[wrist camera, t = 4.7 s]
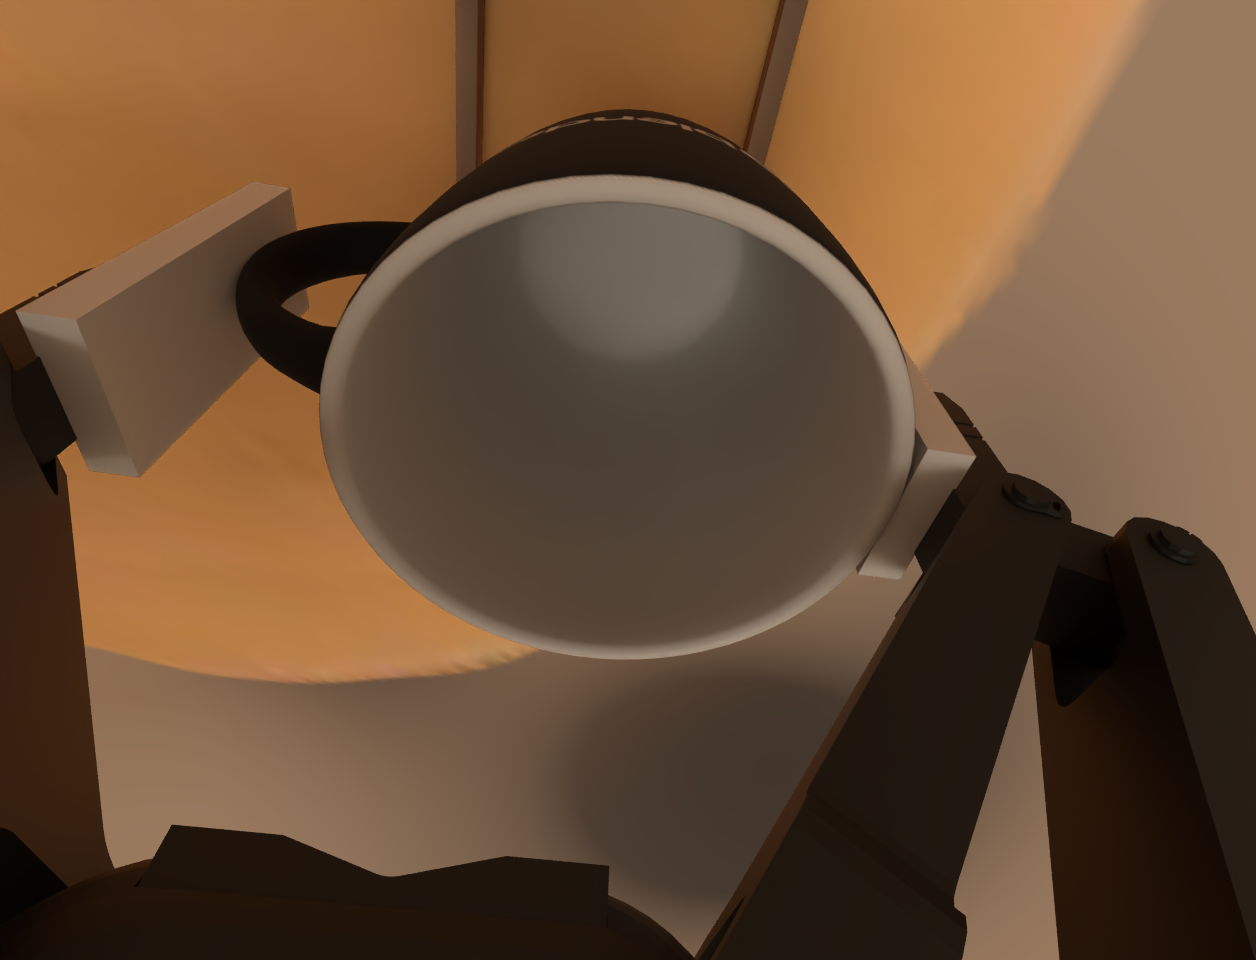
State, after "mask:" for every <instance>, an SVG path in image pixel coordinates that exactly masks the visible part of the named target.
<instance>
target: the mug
mask: <svg viewBox="0 0 1256 960" xmlns="http://www.w3.org/2000/svg"><path fill="white" fill-rule="evenodd" d="M359 274H367V275H366V276H365V278H364V279H363V281H362V282H361V284H360V285H359V287H358V288H357V290H356V291H355V293H354V294H353V296H352V297H351V299H350V300H349V302H348V304H347V306H346V309H345V311H344V313H343V315H342V317H341V319H340V321H339V323H338V325H337V327H328V326H321V325H318V324H315V323H312V322H309V321H306V320H304V319H302V318H300V317H298V316H296V315H294V314H293V313H291V312H289V311H288V310H286V309H284V308H283V307H282V306H281V305H282V304H283V303H284V302H285V301H286V300H287V299H289V298H290V297H292V296H293V295H295V294H296V293H298V292H300V291H302V290H304V289H306V288H308V287H310V286H313V285H316V284H318V283H321V282H324V281H328V280H332V279H336V278H341V277H346V276H351V275H359ZM235 297H236V310H237V314H238V318H239V321H240V324H241V327H242V330H243V332H244V334H245V335H246V337H247V339H248V340H249V342H250V344H251V345H252V346H253V348H254V349H255V350H256V352H257V353H258V354H259V355H260V356H261V357H262V358H263V359H264V360H265V361H266V362H267V363H269V364H270V365H272V366H273V367H274V368H276V369H277V370H278V371H280V372H282V373H283V374H285V375H286V376H288V377H290V378H291V379H293V380H295V381H296V382H298V383H300V384H302V385H303V386H305V387H307V388H309V389H311V390H313V391H314V392H316V393H318V394H320V401H319V418H320V433H321V439H322V444H323V450H324V455H325V459H326V462H327V465H328V469H329V472H330V475H331V479H332V481H333V483H334V486H335V488H336V490H337V493H338V495H339V497H340V500H341V501H342V503H343V505H344V507H345V509H346V510H347V512H348V514H349V516H350V518H351V519H352V521H353V522H354V524H355V525H356V527H357V528H358V530H359V531H360V532H361V534H362V535H363V537H364V538H365V540H366V541H367V542H368V543H369V545H370V546H371V547H372V548H373V549H374V551H375V552H376V553H377V554H378V555H379V557H380V558H381V559H382V560H383V561H384V562H385V563H386V564H387V565H388V566H389V567H390V568H391V569H392V570H393V571H394V572H395V573H396V574H397V575H398V576H399V577H401V578H402V579H403V580H404V581H405V582H406V583H408V584H409V585H410V586H411V587H412V588H413V589H415V590H416V591H417V592H419V593H420V594H422V595H423V596H424V597H426V598H427V599H428V600H430V601H431V602H433V603H434V604H436V605H437V606H439V607H441V608H442V609H444V610H445V611H447V612H449V613H450V614H452V615H454V616H456V617H458V618H460V619H462V620H463V621H465V622H467V623H469V624H471V625H473V626H476V627H478V628H480V629H482V630H485V631H487V632H489V633H491V634H494V635H497V636H500V637H502V638H505V639H508V640H510V641H514V642H517V643H520V644H523V645H527V646H530V647H534V648H538V649H542V650H547V651H551V652H556V653H562V654H567V655H573V656H582V657H590V658H604V659H649V658H663V657H671V656H679V655H685V654H690V653H695V652H700V651H706V650H710V649H714V648H717V647H721V646H725V645H728V644H731V643H734V642H737V641H740V640H743V639H746V638H749V637H751V636H754V635H756V634H759V633H761V632H764V631H766V630H768V629H770V628H772V627H774V626H776V625H778V624H780V623H782V622H784V621H786V620H788V619H790V618H792V617H793V616H795V615H797V614H798V613H800V612H802V611H803V610H805V609H807V608H808V607H809V606H811V605H812V604H814V603H815V602H817V601H818V600H819V599H821V598H822V597H823V596H825V595H826V594H827V593H828V592H830V591H831V590H832V589H833V588H835V587H836V586H837V585H838V584H839V583H840V582H841V581H842V580H843V579H845V577H846V576H847V575H849V573H851V572H852V571H853V570H854V569H855V568H856V567H857V566H858V564H859V563H860V562H861V561H862V560H863V559H864V557H865V556H866V555H867V554H868V553H869V551H870V550H871V549H872V548H873V546H874V545H875V543H876V542H877V541H878V539H879V538H880V536H881V535H882V533H883V532H884V530H885V529H886V527H887V525H888V523H889V521H890V520H891V518H892V516H893V514H894V512H895V510H896V508H897V506H898V503H899V501H900V499H901V496H902V494H903V491H904V489H905V486H906V482H907V478H908V475H909V471H910V468H911V463H912V457H913V450H914V444H915V420H916V416H915V406H914V396H913V389H912V385H911V380H910V376H909V372H908V367H907V363H906V359H905V356H904V353H903V351H902V348H901V345H900V343H899V340H898V337H897V335H896V332H895V330H894V328H893V326H892V324H891V322H890V321H889V319H888V317H887V315H886V313H885V311H884V309H883V307H882V305H881V303H880V301H879V300H878V298H877V296H876V294H875V293H874V291H873V289H872V288H871V286H870V285H869V283H868V282H867V280H866V279H865V277H864V276H863V274H862V273H861V271H860V270H859V269H858V267H857V266H856V264H855V263H854V261H853V260H852V259H851V257H850V256H849V254H848V253H847V252H846V250H845V249H844V248H843V247H842V245H841V244H840V243H839V242H838V240H837V239H836V238H835V237H834V236H833V234H832V233H831V232H830V231H829V230H828V229H827V228H826V227H825V225H824V224H823V223H822V222H821V221H820V220H819V219H818V217H817V216H816V215H815V214H814V213H813V212H812V211H811V210H810V208H809V207H808V206H807V205H806V204H805V203H804V202H803V201H802V200H801V199H800V198H799V197H798V196H797V195H796V194H795V193H794V192H793V191H792V190H791V189H790V188H789V187H788V186H787V185H786V184H784V183H783V182H782V181H781V180H780V179H779V178H778V177H777V176H776V175H774V174H773V173H772V172H771V171H770V170H769V169H768V168H767V167H765V166H764V165H763V164H762V163H761V162H759V161H758V160H757V159H755V158H754V157H753V156H751V155H750V154H749V153H747V152H746V151H744V150H743V149H741V148H740V147H739V146H737V145H736V144H734V143H733V142H731V141H730V140H728V139H726V138H724V137H723V136H721V135H719V134H717V133H715V132H714V131H712V130H710V129H708V128H706V127H703V126H701V125H698V124H696V123H694V122H691V121H689V120H686V119H683V118H679V117H676V116H672V115H669V114H665V113H659V112H653V111H647V110H631V109H624V110H607V111H600V112H594V113H588V114H584V115H580V116H577V117H573V118H570V119H566V120H563V121H560V122H558V123H555V124H553V125H550V126H548V127H546V128H543V129H541V130H538V131H536V132H534V133H532V134H531V135H529V136H527V137H525V138H523V139H522V140H520V141H518V142H516V143H514V144H512V145H511V146H509V147H507V148H505V149H504V150H502V151H501V152H499V153H498V154H496V155H495V156H493V157H492V158H490V159H489V160H487V161H486V162H485V163H483V164H482V165H480V166H479V167H477V168H476V169H475V170H473V171H472V172H470V173H469V174H468V175H466V176H465V177H464V178H462V179H461V180H460V181H458V182H457V183H456V184H455V185H453V186H452V187H451V188H450V189H449V190H448V191H446V192H445V193H444V194H443V195H442V196H441V197H440V198H438V199H437V200H436V201H435V202H434V203H433V204H432V205H431V206H430V207H428V208H427V209H426V210H425V211H424V212H423V213H422V214H421V215H420V216H419V217H417V218H416V219H415V220H414V221H413V222H412V223H409V222H386V221H371V222H348V223H338V224H329V225H323V226H317V227H312V228H307V229H303V230H300V231H296V232H292V233H290V234H287V235H284V236H282V237H279V238H277V239H275V240H273V241H271V242H269V243H267V244H266V245H264V246H263V247H262V248H260V249H259V250H258V251H256V252H255V253H254V254H253V256H252V257H251V258H250V259H249V260H248V261H247V262H246V264H245V265H244V266H243V268H242V270H241V273H240V275H239V278H238V282H237V285H236V296H235Z"/></svg>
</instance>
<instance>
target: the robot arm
mask: <svg viewBox="0 0 1256 960" xmlns="http://www.w3.org/2000/svg"><path fill="white" fill-rule="evenodd" d="M296 231H297V228H296V221H295V215H294V209H293V202H292V196H291V190H290V188H287V187H281V186H275V185H270V184H264V183H258V182H252V183H250V184H249V185H247V186H245V187H243V188H241V189H239V190H237V191H236V192H234V193H232V194H230V195H228V196H226V197H225V198H223V199H221V200H219V201H217V202H215V203H213V204H212V205H210V206H208V207H206V208H204V209H202V210H201V211H199V212H197V213H195V214H193V215H191V216H189V217H188V218H186V219H184V220H182V221H180V222H178V223H177V224H175V225H173V226H171V227H169V228H167V229H165V230H164V231H162V232H160V233H158V234H156V235H154V236H153V237H151V238H149V239H147V240H145V241H143V242H141V243H140V244H138V245H136V246H134V247H132V248H130V249H129V250H127V251H125V252H123V253H121V254H119V255H117V256H116V257H114V258H112V259H110V260H108V261H106V262H105V263H103V264H101V265H99V266H97V267H95V268H91V269H88V270H84V271H80V272H78V273H76V274H75V275H73V276H71V277H69V278H67V279H65V280H63V281H61V282H60V283H58V284H57V287H54V286H52V287H50V288H48V289H46V290H45V291H43V292H41V293H39V296H38V297H34V296H33V297H31V298H30V299H28V300H26V301H24V302H22V303H20V304H18V305H17V306H15V307H13V308H11V309H9V310H7V311H5V312H3V313H2V314H0V960H962V957H963V952H964V946H965V942H966V936H967V924H966V916H965V915H964V914H962V913H961V912H960V911H958V910H957V909H956V908H955V907H954V895H955V890H956V886H957V883H958V879H959V876H960V873H961V870H962V867H963V863H964V860H965V857H966V854H967V851H968V848H969V844H970V841H971V838H972V835H973V832H974V828H975V825H976V822H977V819H978V816H979V813H980V809H981V806H982V803H983V800H984V797H985V794H986V791H987V787H988V784H989V781H990V778H991V774H992V771H993V768H994V765H995V762H996V759H997V756H998V752H999V749H1000V746H1001V743H1002V739H1003V736H1004V733H1005V730H1006V727H1007V724H1008V720H1009V717H1010V714H1011V711H1012V708H1013V705H1014V702H1015V698H1016V695H1017V692H1018V689H1019V686H1020V683H1021V679H1022V676H1023V673H1024V670H1025V667H1026V664H1027V660H1028V657H1029V654H1030V651H1031V648H1032V655H1033V665H1034V678H1035V689H1036V700H1037V710H1038V723H1039V733H1040V745H1041V757H1042V767H1043V779H1044V790H1045V802H1046V813H1047V824H1048V835H1049V847H1050V858H1051V869H1052V881H1053V892H1054V903H1055V915H1056V926H1057V937H1058V948H1059V960H1256V635H1255V633H1254V631H1253V628H1252V626H1251V624H1250V622H1249V620H1248V617H1247V615H1246V614H1245V611H1244V609H1243V607H1242V605H1241V603H1240V600H1239V598H1238V596H1237V594H1236V592H1235V589H1234V587H1233V585H1232V583H1231V581H1230V579H1229V577H1228V574H1227V572H1226V570H1225V568H1224V566H1223V564H1222V563H1221V561H1220V560H1219V559H1218V557H1217V556H1216V554H1215V553H1214V552H1213V551H1211V550H1210V549H1209V548H1208V547H1207V546H1206V545H1204V544H1203V543H1202V541H1201V540H1200V539H1199V538H1198V537H1196V536H1195V535H1193V534H1191V535H1189V532H1188V531H1186V530H1184V529H1183V528H1180V527H1175V526H1172V525H1170V524H1168V523H1165V522H1162V521H1159V520H1155V519H1151V518H1139V517H1134V518H1132V519H1131V520H1129V521H1127V522H1126V523H1125V524H1124V525H1123V527H1122V528H1121V529H1120V530H1119V531H1118V532H1117V533H1116V535H1115V536H1114V537H1111V536H1109V535H1106V534H1103V533H1100V532H1097V531H1094V530H1091V529H1088V528H1085V527H1082V526H1079V525H1076V524H1073V523H1071V521H1072V519H1071V511H1070V509H1069V508H1068V507H1067V505H1066V504H1065V502H1064V501H1063V500H1062V499H1061V498H1059V497H1058V496H1057V495H1056V494H1055V493H1053V492H1052V491H1051V490H1050V489H1048V488H1046V487H1045V486H1043V485H1041V484H1039V483H1038V482H1036V481H1034V480H1031V479H1028V478H1026V477H1023V476H1021V475H1017V474H1012V473H1008V472H1007V471H1006V470H1005V468H1004V467H1003V465H1002V464H1001V462H1000V461H999V460H998V459H997V457H996V455H995V454H994V453H993V451H992V450H991V448H990V447H989V445H988V444H987V443H986V441H984V440H982V438H983V437H982V436H981V434H980V433H979V431H978V430H977V428H976V427H973V423H972V421H971V420H970V419H969V417H968V416H967V414H966V413H965V412H964V410H963V409H962V408H961V407H960V406H958V405H957V404H956V403H955V402H953V401H952V400H951V399H950V398H948V397H947V396H945V395H944V394H943V393H938V392H933V391H932V389H931V388H930V386H929V385H928V383H927V382H926V380H925V379H924V377H923V376H922V374H921V373H920V371H919V370H918V368H917V367H916V365H915V364H914V362H913V361H912V359H911V358H910V356H909V355H908V353H907V352H906V350H905V349H904V347H903V346H902V344H901V343H900V341H899V343H900V345H901V348H902V351H903V353H904V356H905V359H906V363H907V367H908V372H909V376H910V380H911V385H912V389H913V396H914V406H915V416H916V420H915V444H914V450H913V457H912V463H911V468H910V471H909V475H908V478H907V482H906V486H905V489H904V491H903V494H902V496H901V499H900V501H899V503H898V506H897V508H896V510H895V512H894V514H893V516H892V518H891V520H890V521H889V523H888V525H887V527H886V529H885V530H884V532H883V533H882V535H881V536H880V538H879V539H878V541H877V542H876V543H875V545H874V546H873V548H872V549H871V550H870V551H869V553H868V554H867V555H866V556H865V557H864V559H863V560H862V561H861V562H860V563H859V564H858V566H857V567H856V570H857V572H858V574H860V575H868V576H876V577H883V578H891V579H898V580H899V579H900V578H901V577H902V575H903V573H904V572H905V570H906V569H907V567H908V565H909V564H910V562H911V561H912V559H913V557H914V555H915V556H916V558H917V560H918V563H919V565H920V567H921V569H922V572H923V574H922V575H921V577H920V578H919V580H918V581H917V583H916V584H915V586H914V587H913V589H912V590H911V592H910V594H909V595H908V597H907V598H906V600H905V601H904V603H903V604H902V606H901V607H900V609H899V611H898V612H897V613H896V615H895V617H896V618H895V620H894V621H893V623H892V625H891V627H890V628H889V630H888V632H887V633H886V635H885V637H884V638H883V640H882V642H881V644H880V645H879V647H878V649H877V650H876V652H875V654H874V655H873V657H872V659H871V661H870V662H869V664H868V666H867V667H866V669H865V671H864V673H863V674H862V676H861V678H860V679H859V681H858V683H857V685H856V686H855V688H854V690H853V691H852V693H851V695H850V696H849V698H848V700H847V701H846V703H845V705H844V707H843V708H842V710H841V712H840V713H839V715H838V717H837V718H836V720H835V722H834V724H833V725H832V727H831V729H830V730H829V732H828V734H827V736H826V737H825V739H824V741H823V742H822V744H821V746H820V747H819V749H818V751H817V753H816V754H815V756H814V758H813V760H812V761H811V763H810V764H809V766H808V768H807V770H806V771H805V773H804V775H803V777H802V778H801V780H800V782H799V783H798V785H797V787H796V788H795V790H794V792H793V794H792V795H791V797H790V799H789V800H788V802H787V804H786V806H785V807H784V809H783V810H782V812H781V814H780V816H779V817H778V819H777V821H776V823H775V824H774V826H773V828H772V830H771V831H770V833H769V834H768V836H767V838H766V840H765V841H764V843H763V845H762V846H761V848H760V850H759V851H758V853H757V855H756V857H755V858H754V860H753V862H752V864H751V865H750V867H749V869H748V870H747V872H746V874H745V875H744V877H743V879H742V880H741V882H740V884H739V886H738V887H737V889H736V891H735V892H734V894H733V896H732V897H731V899H730V901H729V902H728V904H727V906H726V907H725V909H724V911H723V912H722V914H721V915H720V917H719V918H718V920H717V921H716V923H715V925H714V926H713V928H712V929H711V931H710V933H709V934H708V936H707V937H706V939H705V941H704V942H703V944H702V946H701V947H700V949H699V951H698V952H697V954H696V956H695V957H693V956H692V955H691V954H690V953H689V952H688V951H687V950H686V949H685V948H684V947H683V946H682V945H681V944H680V943H679V942H678V941H677V940H676V939H675V938H674V937H673V936H672V935H671V934H670V933H669V932H668V931H667V930H665V929H664V928H663V927H661V926H660V925H659V924H658V923H656V922H655V921H654V920H652V919H651V918H650V917H649V916H647V915H645V914H644V913H642V912H640V911H639V910H637V909H635V908H634V907H632V906H630V905H629V904H627V903H625V902H623V901H621V900H618V899H616V898H614V897H611V896H609V895H608V882H609V866H605V865H595V864H585V863H574V862H563V861H553V860H542V859H532V858H521V857H510V856H505V857H499V858H494V859H488V860H483V861H477V862H472V863H467V864H462V865H456V866H451V867H445V868H440V869H434V870H429V871H424V872H418V873H413V874H408V875H402V876H395V877H387V876H381V875H378V874H375V873H373V872H371V871H368V870H366V869H363V868H361V867H359V866H356V865H353V864H351V863H349V862H347V861H344V860H342V859H339V858H337V857H335V856H332V855H330V854H327V853H325V852H323V851H320V850H318V849H315V848H313V847H310V846H308V845H306V844H303V843H301V842H299V841H296V840H294V839H291V838H289V837H286V836H284V835H276V834H266V833H255V832H245V831H234V830H224V829H213V828H203V827H191V826H181V825H171V827H170V829H169V831H168V833H167V834H166V836H165V838H164V840H163V842H162V843H161V845H160V847H159V849H158V851H157V852H156V854H155V856H154V858H153V859H147V860H143V861H140V862H136V863H133V864H129V865H126V866H122V867H119V868H115V869H114V866H113V864H112V861H111V859H110V856H109V853H108V850H107V846H106V842H105V836H104V830H103V821H102V811H101V802H100V792H99V782H98V774H97V763H96V754H95V744H94V735H93V725H92V715H91V706H90V696H89V687H88V677H87V667H86V658H85V648H84V638H83V629H82V619H81V610H80V600H79V590H78V581H77V571H76V562H75V552H74V542H73V533H72V523H71V514H70V504H69V494H68V485H67V475H66V473H65V471H64V469H63V467H62V465H61V463H60V461H59V459H58V457H57V455H58V454H60V453H61V452H62V451H63V450H64V449H66V448H67V447H68V446H69V445H70V444H72V443H73V442H74V441H76V443H77V445H78V447H79V449H80V452H81V454H82V456H83V458H84V460H85V462H86V465H87V467H88V469H89V471H94V472H102V473H109V474H117V475H124V476H132V477H140V476H141V475H142V474H143V473H144V472H145V471H146V470H147V469H148V468H149V467H150V466H151V465H152V464H153V463H154V462H155V461H156V460H157V459H158V458H159V457H160V456H161V455H162V454H163V453H164V452H165V451H166V450H167V449H168V448H169V447H170V446H171V445H172V444H173V443H174V442H175V441H176V440H177V439H178V438H179V437H180V436H181V435H182V434H183V433H184V432H185V431H186V430H187V429H188V428H189V427H190V426H191V425H192V424H193V423H194V422H195V421H196V420H197V419H198V418H199V417H200V416H201V415H202V414H203V413H204V412H205V411H206V410H207V409H208V408H209V407H210V406H211V405H212V404H213V403H214V402H215V401H216V400H217V399H218V398H219V397H220V396H221V395H222V394H223V393H224V392H225V391H226V390H227V389H228V388H229V387H230V386H231V385H232V384H233V383H234V382H235V381H236V380H237V379H238V378H239V377H240V376H241V375H242V374H243V373H244V372H245V371H246V370H247V369H248V368H249V367H250V366H251V365H252V364H253V363H254V362H255V361H256V360H257V359H258V358H259V357H260V355H259V354H258V353H257V352H256V350H255V349H254V348H253V346H252V345H251V344H250V342H249V340H248V339H247V337H246V335H245V334H244V332H243V330H242V327H241V324H240V321H239V318H238V314H237V310H236V297H235V296H236V285H237V282H238V278H239V275H240V273H241V270H242V268H243V266H244V265H245V264H246V262H247V261H248V260H249V259H250V258H251V257H252V256H253V254H254V253H255V252H256V251H258V250H259V249H260V248H262V247H263V246H264V245H266V244H267V243H269V242H271V241H273V240H275V239H277V238H279V237H282V236H284V235H287V234H290V233H292V232H296ZM281 306H282V307H283V308H284V309H286V310H288V311H289V312H291V313H293V314H294V315H296V316H298V317H300V316H301V315H302V314H303V313H304V312H305V311H306V310H307V309H308V308H309V303H308V297H307V291H306V289H304V290H302V291H300V292H298V293H296V294H295V295H293V296H292V297H290V298H289V299H287V300H286V301H285V302H284V303H283V304H282V305H281Z"/></svg>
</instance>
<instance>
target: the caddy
mask: <svg viewBox="0 0 1256 960" xmlns="http://www.w3.org/2000/svg"><path fill="white" fill-rule="evenodd" d="M807 3H808V0H780V4H779V8H778V12H777V16H776V20H775V24H774V28H773V32H772V36H771V40H770V44H769V48H768V52H767V56H766V60H765V64H764V68H763V72H762V76H761V80H760V84H759V88H758V92H757V96H756V100H755V104H754V109H753V113H752V117H751V121H750V125H749V129H748V133H747V137H746V141H745V145H744V149H743V150H744V151H746V152H747V153H749V154H750V155H751V156H753V157H754V158H755V159H757V160H758V161H759V162H761V163H762V164H763V165H764V163H765V159H766V155H767V152H768V148H769V144H770V141H771V137H772V133H773V129H774V126H775V122H776V118H777V115H778V111H779V107H780V103H781V100H782V96H783V92H784V89H785V85H786V81H787V78H788V74H789V70H790V66H791V63H792V59H793V55H794V52H795V48H796V44H797V40H798V37H799V33H800V29H801V26H802V22H803V18H804V15H805V11H806V7H807ZM484 6H485V0H456V159H457V182H458V181H460V180H461V179H462V178H464V177H465V176H466V175H468V174H469V173H470V172H472V171H473V170H475V169H476V168H477V167H479V166H480V165H482V124H483V65H484Z"/></svg>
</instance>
